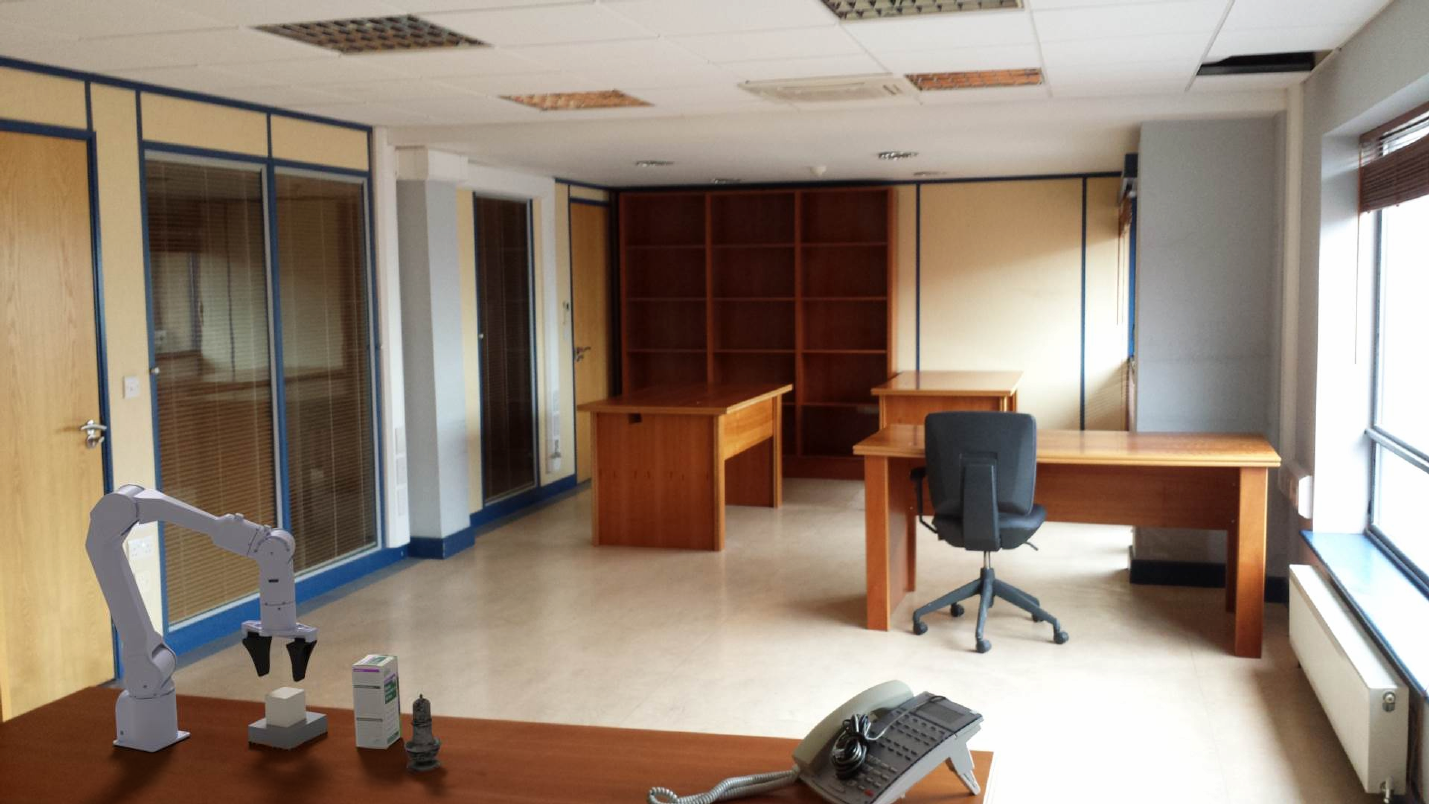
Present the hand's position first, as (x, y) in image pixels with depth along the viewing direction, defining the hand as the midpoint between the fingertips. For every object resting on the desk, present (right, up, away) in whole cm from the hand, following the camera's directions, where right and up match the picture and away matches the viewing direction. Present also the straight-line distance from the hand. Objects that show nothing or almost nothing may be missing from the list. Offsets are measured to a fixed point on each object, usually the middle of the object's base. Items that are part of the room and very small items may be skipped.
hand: (281, 677), depth 205 cm
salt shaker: (+28, -11, -13) cm, 33 cm away
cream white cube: (+1, -7, -2) cm, 7 cm away
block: (+2, -10, -1) cm, 10 cm away
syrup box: (+18, -10, -4) cm, 21 cm away
